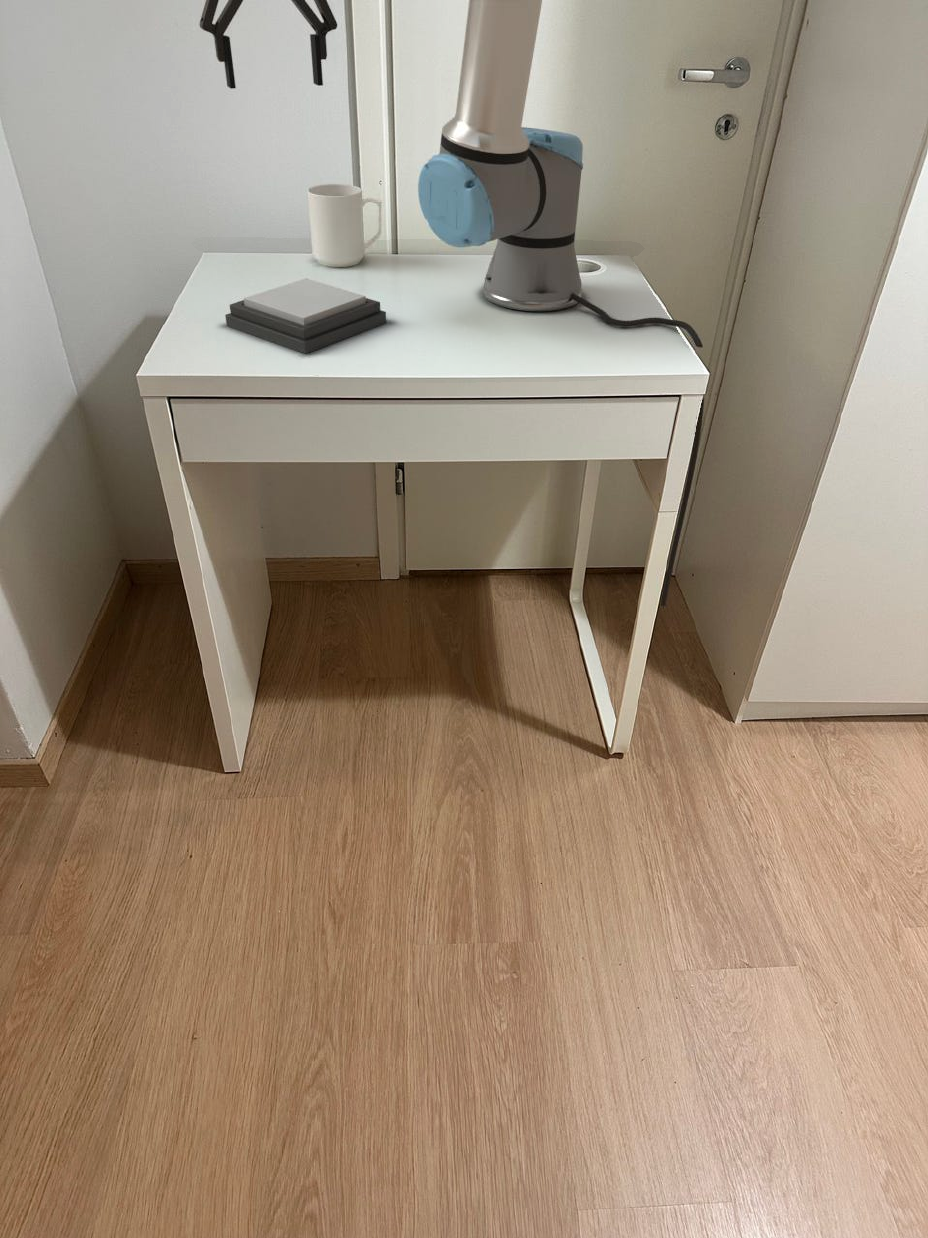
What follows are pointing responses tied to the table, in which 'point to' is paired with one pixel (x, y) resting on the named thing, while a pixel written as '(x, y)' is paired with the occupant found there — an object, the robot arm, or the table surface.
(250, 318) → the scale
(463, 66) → the robot arm
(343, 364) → the table surface
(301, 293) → the light grey square tile
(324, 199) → the mug
